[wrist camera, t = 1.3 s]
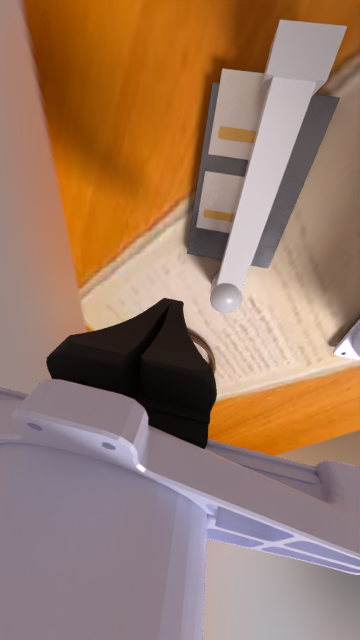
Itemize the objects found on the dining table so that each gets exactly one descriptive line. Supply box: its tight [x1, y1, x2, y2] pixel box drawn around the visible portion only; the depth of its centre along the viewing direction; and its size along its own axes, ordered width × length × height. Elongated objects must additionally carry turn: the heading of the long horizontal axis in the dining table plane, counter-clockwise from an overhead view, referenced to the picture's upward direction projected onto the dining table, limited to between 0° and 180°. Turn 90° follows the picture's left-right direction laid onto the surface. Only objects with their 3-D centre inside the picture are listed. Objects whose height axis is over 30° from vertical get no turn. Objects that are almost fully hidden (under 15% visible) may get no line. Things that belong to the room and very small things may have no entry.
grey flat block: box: [187, 69, 340, 288], centre depth 16 cm, size 8×15×2 cm, turn 172°
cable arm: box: [210, 20, 347, 313], centre depth 14 cm, size 16×3×2 cm, turn 172°
